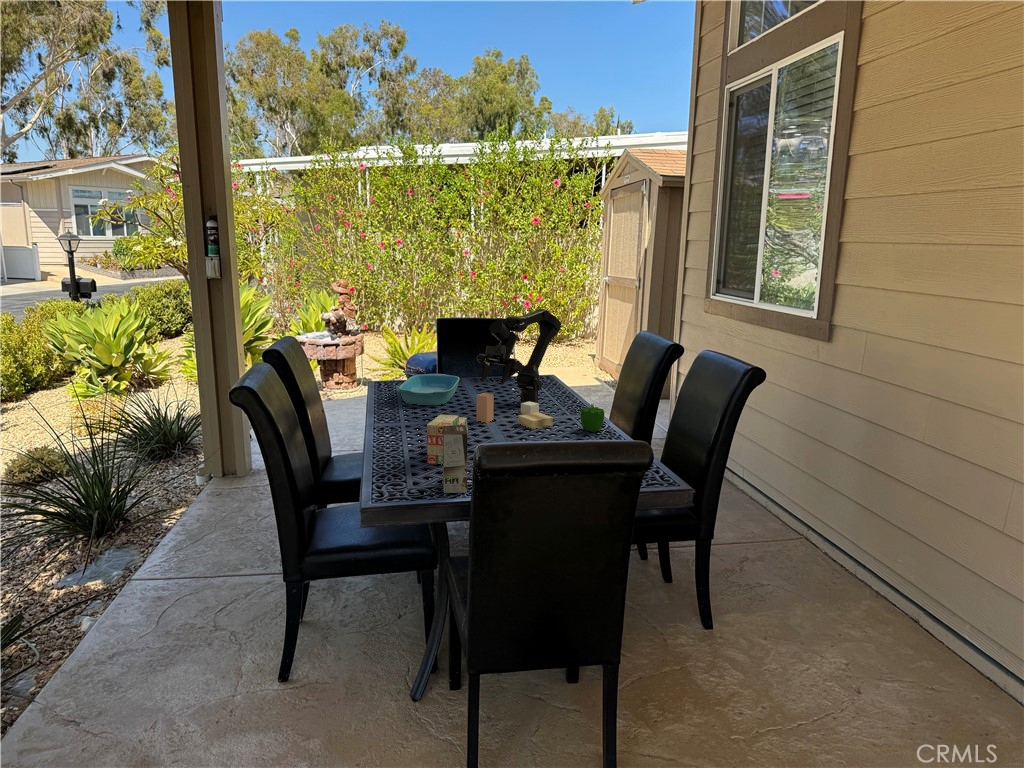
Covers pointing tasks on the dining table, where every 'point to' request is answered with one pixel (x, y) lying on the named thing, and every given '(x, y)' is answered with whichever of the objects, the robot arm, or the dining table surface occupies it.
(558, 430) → the dining table surface
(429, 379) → the casserole dish
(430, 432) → the stack of blocks
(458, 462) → the coffee box
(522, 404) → the brick
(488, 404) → the pillar brick
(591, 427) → the bell pepper
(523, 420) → the base brick
